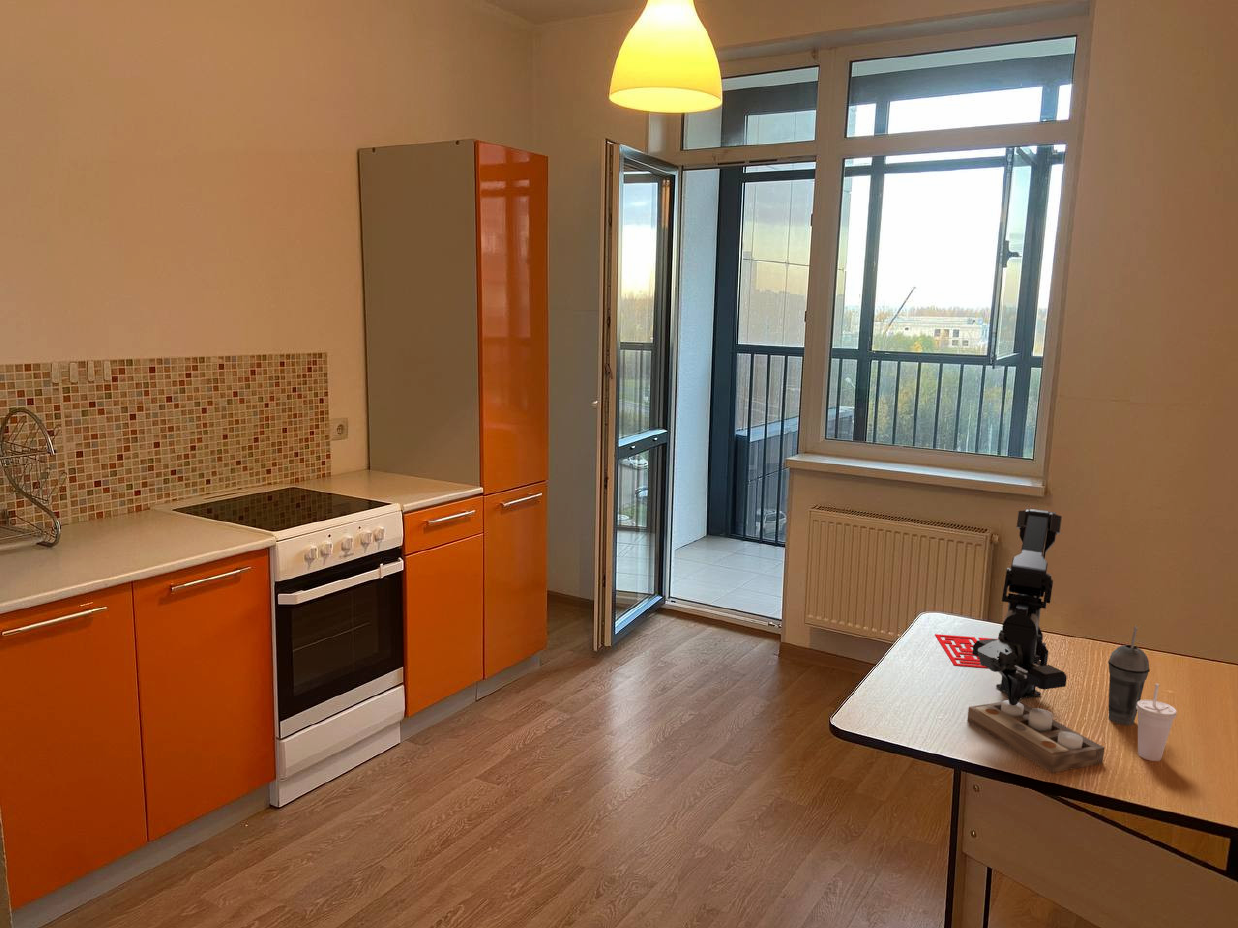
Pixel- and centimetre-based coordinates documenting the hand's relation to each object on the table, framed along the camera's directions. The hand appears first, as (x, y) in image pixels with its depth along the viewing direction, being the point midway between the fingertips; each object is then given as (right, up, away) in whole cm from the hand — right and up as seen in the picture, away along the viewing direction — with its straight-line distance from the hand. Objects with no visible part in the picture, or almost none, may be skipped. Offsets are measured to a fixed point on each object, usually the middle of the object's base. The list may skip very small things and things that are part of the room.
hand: (1012, 704), depth 178 cm
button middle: (+2, -3, -6) cm, 7 cm away
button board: (+1, -5, -6) cm, 8 cm away
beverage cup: (+24, -5, +4) cm, 24 cm away
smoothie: (+21, -7, -10) cm, 24 cm away
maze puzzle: (+11, +1, +38) cm, 40 cm away
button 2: (+5, -5, -12) cm, 14 cm away
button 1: (0, -3, 0) cm, 3 cm away
